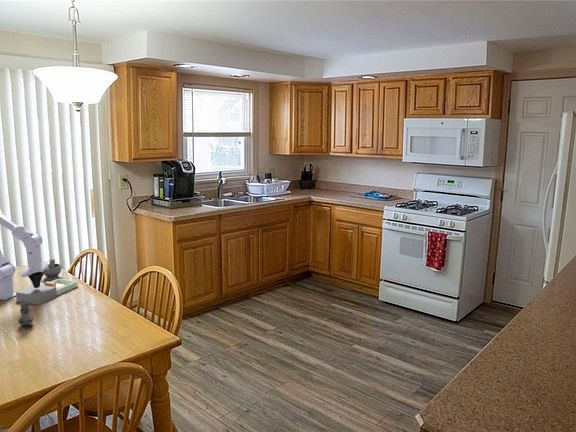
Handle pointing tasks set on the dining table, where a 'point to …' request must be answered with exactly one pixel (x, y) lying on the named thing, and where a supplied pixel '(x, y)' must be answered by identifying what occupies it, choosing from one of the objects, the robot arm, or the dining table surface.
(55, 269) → the mortar and pestle
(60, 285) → the cream tile
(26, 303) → the dark grey chess piece
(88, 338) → the dining table surface
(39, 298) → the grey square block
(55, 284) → the terracotta tile
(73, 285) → the green bin
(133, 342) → the dining table surface
